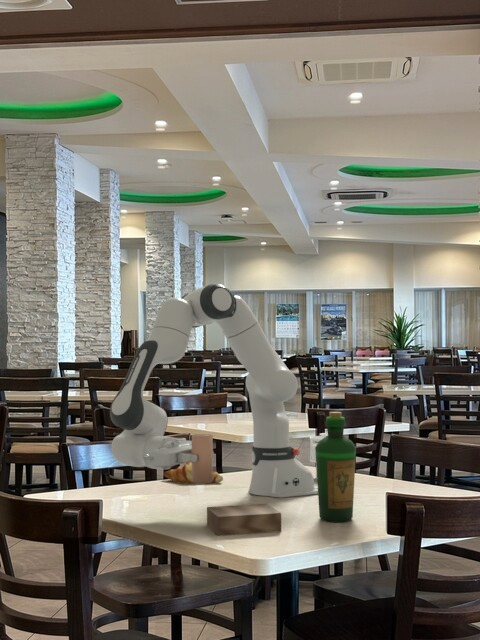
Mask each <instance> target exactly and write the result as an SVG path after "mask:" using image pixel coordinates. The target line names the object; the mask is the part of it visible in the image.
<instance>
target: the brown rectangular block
mask: <svg viewBox="0 0 480 640" xmlns="http://www.w3.org/2000/svg"><path fill="white" fill-rule="evenodd" d="M206 526H208V527H209V529H211V531H213V532H214V533H215V535H217V536H231V535H232V536H235V535H245V534H246V535H248V534H249V535H250V534H259V533H261V534H263V533H277V532H282V512H280V511H279V510H278V509H276V508H274V507H273V506H271V505H270V504H268V503H258V504H257V503H256V504H252V503H251V504H240V505H237V504H236V505H221V506H220V505H219V506H218V505H217V506H207V507H206Z"/></svg>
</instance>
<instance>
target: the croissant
mask: <svg viewBox="0 0 480 640" xmlns="http://www.w3.org/2000/svg"><path fill="white" fill-rule="evenodd" d="M163 476H164V477H165V478H167V479H168V480H170V481H171V482H174V483H179V484H191V485H192V484H193V485H198V484H199V485H201V484H205V485H206V483H193V482H192V462H186V463H184V464H183V465H182V466H181V465H179V466H178V467H177V468H175V469H172V468H170V469H169V470H168V471H167V470H164V472H163ZM223 481H224V477H223V476H222V475H221V474H220V473H218V472H217V471H213V482H210V483H209V484H212V483H213V484H218V483H221V482H223Z"/></svg>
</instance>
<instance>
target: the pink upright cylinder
mask: <svg viewBox="0 0 480 640" xmlns="http://www.w3.org/2000/svg"><path fill="white" fill-rule="evenodd" d="M213 436H214V435H213V434H210V433H196V434H195V433H194V434H191V441H192V454H198V455H199V461H196V462H192V482H193V483H202V484H204V483H205V484H211V483H210V482H213V472H214V471H213V470H214V469H213V468H214V466H213V465H214V464H213V463H214V457H213V452H214V449H213V447H214V444H213V443H214V442H213V441H214V437H213Z"/></svg>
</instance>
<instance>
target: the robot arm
mask: <svg viewBox="0 0 480 640" xmlns="http://www.w3.org/2000/svg"><path fill="white" fill-rule="evenodd" d="M213 323H216V324H217V325H218V326H219V327H220V328H221V330H222V332H223V334H224V336H225V339H226V340H227V342H228V344H229V346H230V348H231V349H232V351H233V353H234V355H235V357H236V359H237V361H239V363H240V364H241V365H242V366H243V367H244V368H245V370H246V371H247V372H248V374H247V376H246V378H245V386H246V390H247V392H248V397H249V404H250V409H251V410H250V411H251V415H252V425H253V427H252V428H253V429H252V430H253V434H252V435H253V436H252V437H253V446H252V447H251V462H252V463H251V464H252V472H251V480H250V485H249V488H248V493H249V494H252V495H257V496H264V497H272V498H274V497H275V498H287V497H289V498H290V497H299V496H308V495H318V485H315V479H314V475H313V473H312V471H311V470H310V468H308V467H306V466H305V465H304V464H303V463H302V462H300V460H298V459H297V458H295V457H296V456H300V454H301V450H300V449H299V448H297V447H293V446H291V445H290V421H289V418H288V415H287V413H286V408H285V403H284V402H288V401H289V400H291V399H293V398H294V396H295V395H296V394H297V392H298V388H299V382H298V379H297V377H296V374H294V373H293V372H292V371H291V370H290V369H289V367H287V365H286V364H285V362H284V360H282V358H281V357H280V355H279V354H278V353H277V352H276V350H275V349H274V347H273V346H272V345H271V343H270V341H269V339H268V337H267V336H266V334H265V332H264V329H262V327H261V324H260V323H259V321H258V319H257V317H256V315H255V314H254V312H253V311H252V309H251V308H250V306H249V305H248V303H247V302H246V300H244V299H243V298H242V297H241V296H239V295H237V294H236V295H234V294H233V293H232V291H231V290H230V289H229V288H228V287H227V286H226V285H223V284H222V283H221V284H220V283H211V284H207V285H206V286H201V287H198V288H196V289H194V290H193V291H191V292H189V293H186V294H184V295H183V296H182V297H181V298H180V297H171V298H167V299H166V300H164V302H163V303H162V304H161V306H160V308H159V311H158V313H157V315H156V317H155V320H154V323H153V325H152V330H151V331H150V335H149V337H148V338H147V340H146V341H144V342H143V343H141V344H140V346H139V347H138V349H137V351H136V353H135V355H134V357H133V359H132V361H131V362H130V363H131V364H130V366H129V368H128V371H127V372H126V375H125V378H124V380H123V383H122V385H121V387H120V388H119V390H118V392H117V394H116V395H115V396H114V398H113V400H112V402H111V404H110V407H109V416H110V420H111V422H112V424H113V425H114V426H116V427H117V428H120V429H123V431H122V432H121V433H119V434H118V435H116V436H115V437H114V438H113V440H112V442H111V446H110V447H111V448H110V449H111V454H112V456H113V458H114V460H115V461H117V462H118V463H120V464H121V465H125V466H130V467H134V468H135V467H136V468H144V467H146V468H149V469H155V470H164V471H167V470H168V471H169V470H171V469H172V468H173V467H174V466H176V465H180V464H186V463H187V462H196V461H199V455H198V454H192V440H187V438H186V437H173V436H165V434H166V430H167V427H168V422H169V420H168V419H169V418H168V415H167V412H166V410H164V408H161V406H158V405H157V404H155V403H153V402H152V401H149V400H147V398H145V397H144V390H145V388H146V384H147V383H148V380H149V379H150V376H151V373H152V371H153V369H154V368H155V367H156V365H158V364H159V365H160V364H161V365H168V364H173V363H176V362H178V361H180V360H181V359H182V358H183V357H184V355H185V353H186V351H187V349H188V344H189V341H190V337H191V333H192V332H191V331H192V329H193V328H199V327H204V326H207V325H210V324H213ZM214 457H215V452H214V451H213V458H214Z"/></svg>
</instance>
